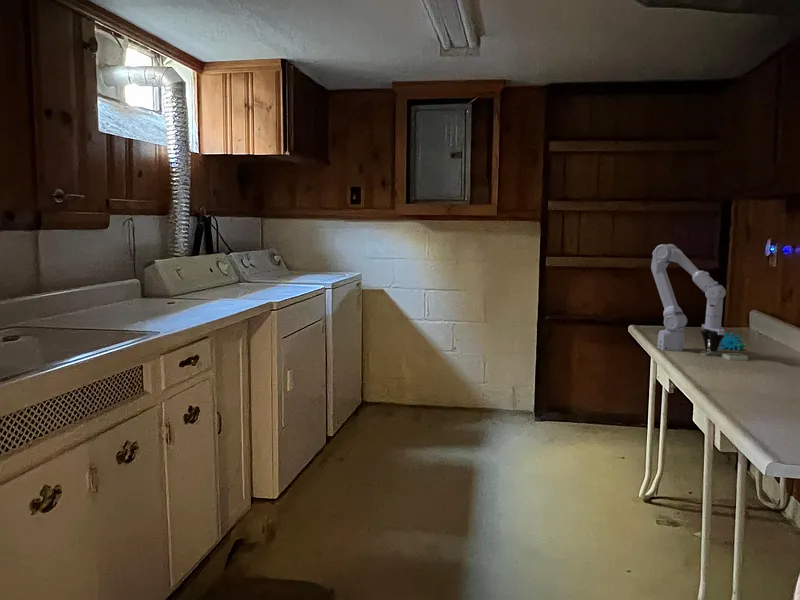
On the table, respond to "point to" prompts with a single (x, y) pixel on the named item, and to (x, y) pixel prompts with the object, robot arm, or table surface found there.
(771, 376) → the table surface
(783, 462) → the table surface
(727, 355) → the parts tray
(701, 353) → the grey square holder
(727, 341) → the gear
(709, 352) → the cylinder
